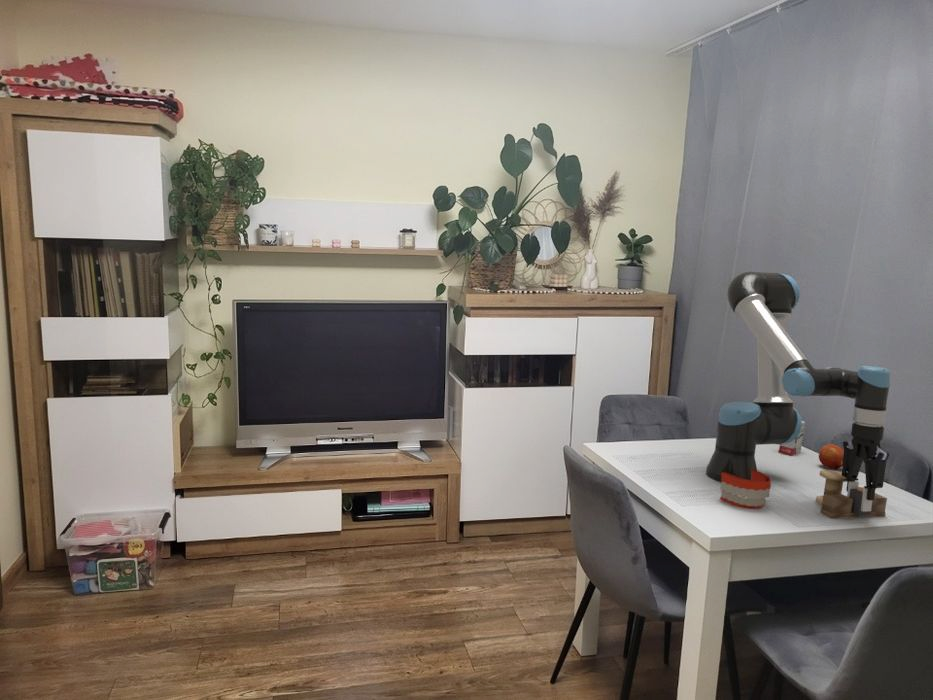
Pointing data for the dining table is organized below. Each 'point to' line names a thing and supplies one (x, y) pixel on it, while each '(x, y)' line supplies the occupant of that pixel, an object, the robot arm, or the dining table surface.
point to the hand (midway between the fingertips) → (858, 507)
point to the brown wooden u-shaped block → (849, 506)
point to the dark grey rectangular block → (857, 501)
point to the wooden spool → (831, 483)
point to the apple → (831, 456)
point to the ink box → (793, 444)
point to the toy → (745, 489)
